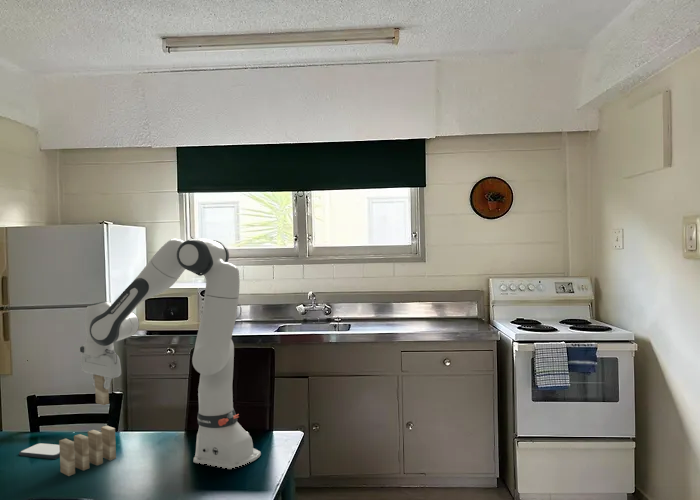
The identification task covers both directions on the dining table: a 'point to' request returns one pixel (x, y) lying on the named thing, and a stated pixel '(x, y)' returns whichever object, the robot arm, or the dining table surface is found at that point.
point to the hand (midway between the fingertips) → (101, 387)
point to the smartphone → (42, 451)
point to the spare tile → (101, 391)
